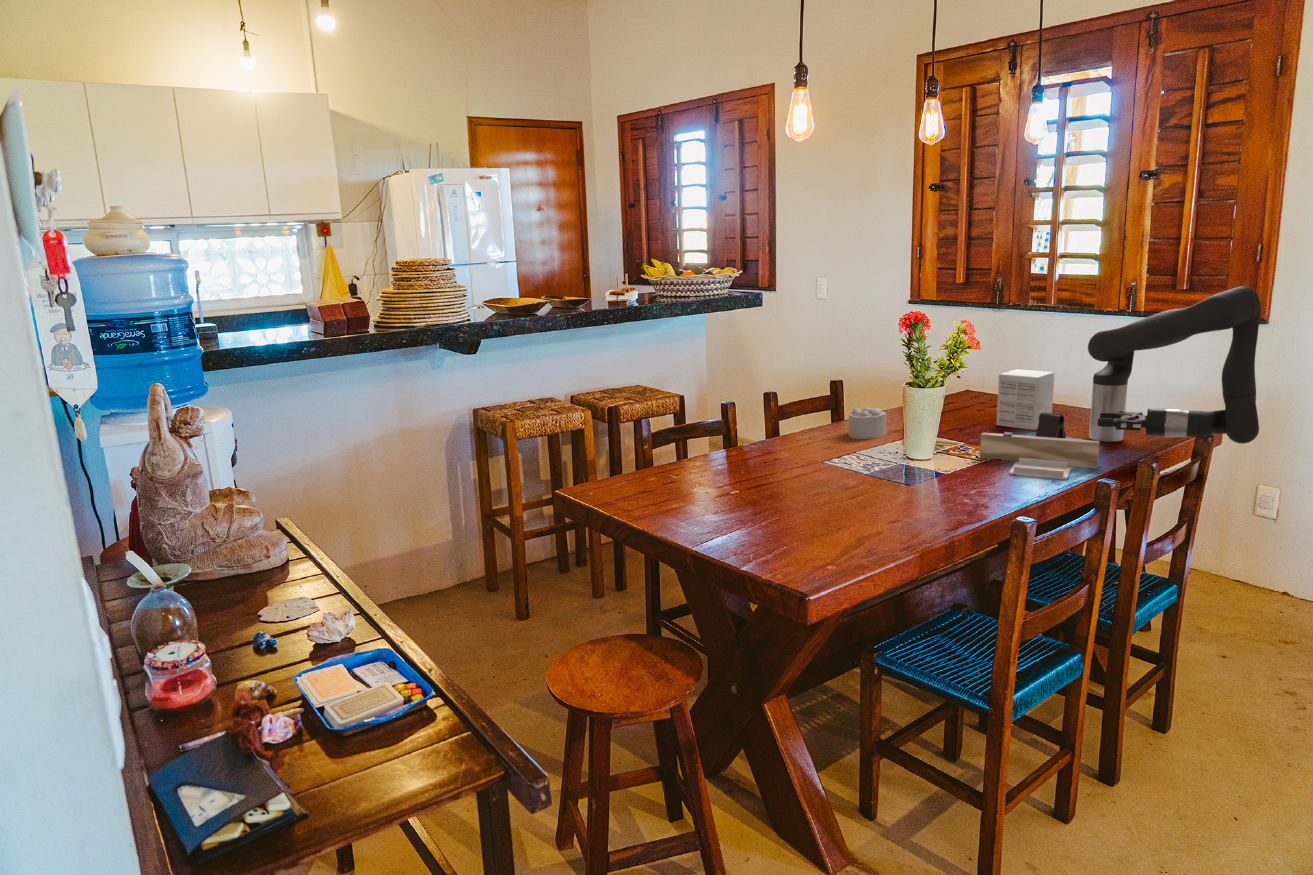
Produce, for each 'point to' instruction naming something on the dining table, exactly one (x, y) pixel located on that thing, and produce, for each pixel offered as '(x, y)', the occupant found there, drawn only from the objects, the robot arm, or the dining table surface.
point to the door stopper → (1051, 426)
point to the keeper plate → (1041, 468)
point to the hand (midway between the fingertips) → (1098, 419)
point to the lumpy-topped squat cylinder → (867, 423)
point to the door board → (1039, 449)
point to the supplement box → (1024, 397)
